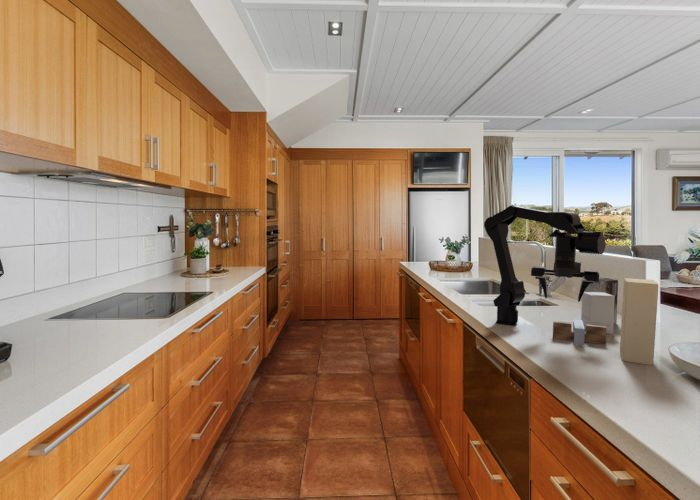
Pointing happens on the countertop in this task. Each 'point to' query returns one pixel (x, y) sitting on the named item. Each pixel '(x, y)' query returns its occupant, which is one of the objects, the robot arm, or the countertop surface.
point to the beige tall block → (638, 320)
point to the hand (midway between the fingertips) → (562, 299)
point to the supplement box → (598, 310)
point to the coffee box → (606, 290)
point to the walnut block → (591, 335)
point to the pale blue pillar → (578, 332)
